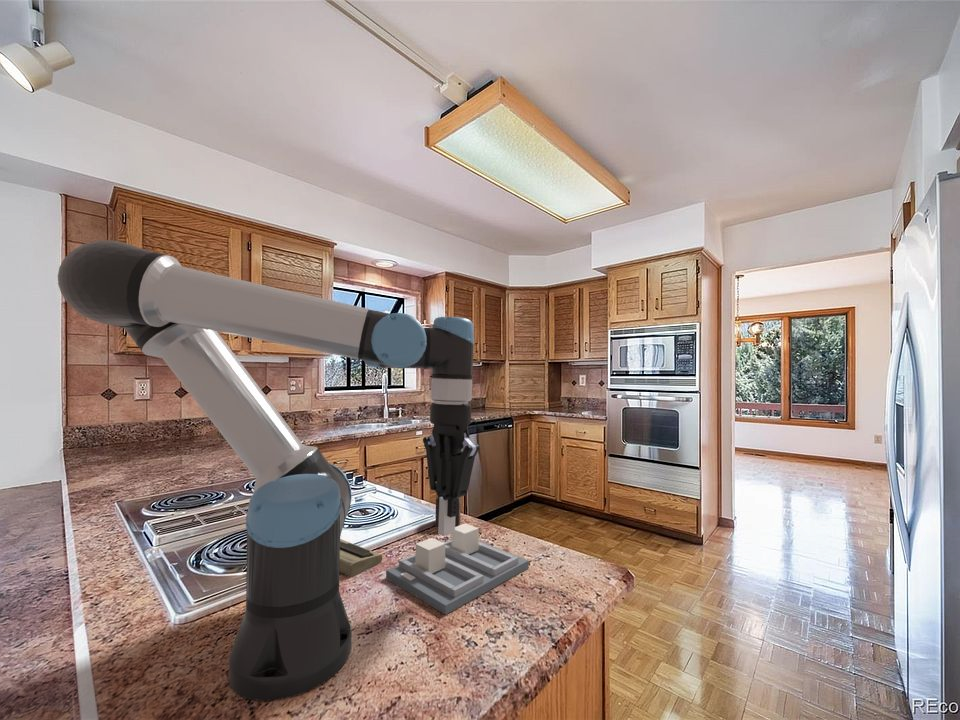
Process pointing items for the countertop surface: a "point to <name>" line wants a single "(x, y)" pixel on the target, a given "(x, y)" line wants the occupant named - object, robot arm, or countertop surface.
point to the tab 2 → (466, 538)
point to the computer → (356, 559)
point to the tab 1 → (430, 555)
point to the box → (457, 518)
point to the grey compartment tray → (457, 576)
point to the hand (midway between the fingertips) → (446, 533)
